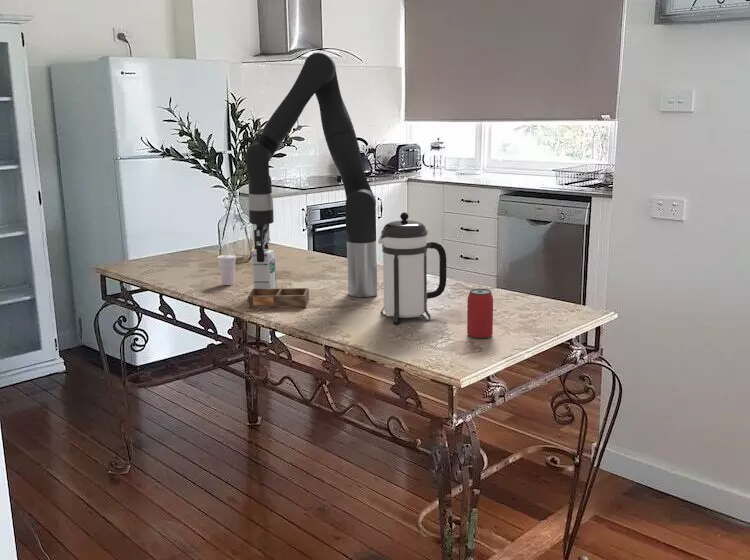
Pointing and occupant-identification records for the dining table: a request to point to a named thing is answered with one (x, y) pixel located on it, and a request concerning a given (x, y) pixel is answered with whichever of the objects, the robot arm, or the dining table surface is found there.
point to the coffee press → (408, 269)
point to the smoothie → (227, 267)
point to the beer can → (480, 313)
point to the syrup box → (264, 270)
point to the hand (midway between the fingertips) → (262, 259)
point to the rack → (278, 298)
